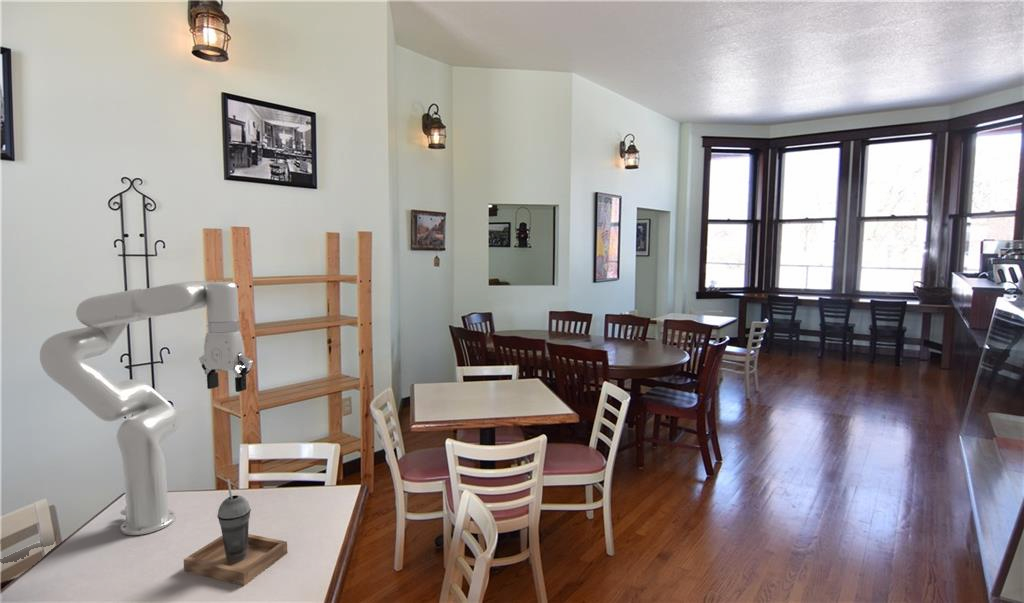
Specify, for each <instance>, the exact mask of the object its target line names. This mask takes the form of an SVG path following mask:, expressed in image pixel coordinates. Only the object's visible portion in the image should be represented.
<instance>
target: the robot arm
mask: <svg viewBox="0 0 1024 603" xmlns="http://www.w3.org/2000/svg"><path fill="white" fill-rule="evenodd" d="M238 292H239V291H238V286H237V284H236V283H234V282H232V281H214V282H212V281H211V282H210V281H203V280H194V281H193V280H192V281H183V282H175V283H170V284H165V285H159V286H152V287H149V288H143V289H142V288H136V289H130V290H124V291H119V292H112V293H108V294H102V295H95V296H91V297H89V298H86V299H84V300H82V301H81V302H80V303H79V304H78V306H77V307H76V310H75V316H76V318H77V320H78V321H79V323H81V324H82V325H84V326H85V327H82V328H75V329H70V330H66V331H61V332H58V333H56V334H53V335H51V336H50V337H48V338H47V339H46V340H45V341H44V342H43V343H42V344H41V346H40V350H39V361H40V365H41V367H42V369H43V371H44V372H45V373H46V375H47V376H48V377H49V378H50V379H51V380H52V381H54V382H55V383H57V385H60V386H61V387H62V388H63V389H65V390H67V392H69V393H70V394H71V395H73V397H74V398H75V399H76V400H77V401H79V402H80V403H81V404H83V406H84V407H86V408H87V409H88V410H89V411H90V412H91V413H92V414H94V415H95V416H96V417H97V418H99V419H100V420H102V421H104V422H108V423H110V422H115V421H118V420H121V419H124V418H125V417H128V416H130V415H131V416H130V417H128V418H127V419H125V420H124V421H123V422H122V423H121V424H120V426H119V427H118V429H117V433H116V441H117V444H118V447H119V451H120V454H121V458H122V468H123V477H124V492H125V503H126V504H125V506H124V507H125V508H124V509H121V510H120V513H119V514H120V515H122V516H125V521H123V523H121V525H120V530H121V531H120V532H121V533H122V534H124V535H127V536H140V535H146V534H150V533H153V532H157V531H159V530H162V529H165V528H166V527H169V525H171V524H172V523H173V522H174V521H175V519H176V513H175V512H174V511H173V510H171V509H169V500H168V499H169V498H168V486H167V485H168V484H167V483H168V482H167V470H166V469H167V468H166V459H165V458H166V457H165V454H164V452H163V450H162V448H161V446H160V442H161V441H162V440H163V439H165V438H167V437H168V436H170V435H172V434H174V433H175V432H176V431H177V429H178V428H179V426H180V425H181V424H180V423H181V416H180V414H179V412H178V410H177V409H176V408H175V406H173V405H172V404H171V403H170V402H169V401H168V400H167V399H166V398H164V397H163V396H162V395H161V394H160V393H159V392H157V390H155V389H154V388H153V387H152V386H151V385H149V384H148V383H147V382H144V381H142V380H139V379H133V378H132V379H125V380H122V381H120V382H117V381H116V382H115V381H114V380H113V379H111V378H110V377H109V376H108V375H106V374H105V373H104V372H103V371H102V370H100V369H99V368H97V367H95V366H93V365H91V364H89V363H86V362H84V361H83V360H86V359H90V358H94V357H97V356H101V355H103V354H104V353H106V352H108V351H109V350H110V349H112V347H113V346H114V345H115V343H116V342H117V341H118V339H119V338H120V336H121V335H122V333H123V332H124V330H126V328H127V326H128V325H129V324H130V323H134V322H140V321H146V320H149V318H155V317H160V316H165V315H172V314H178V313H183V312H188V311H193V310H197V309H203V308H206V315H207V316H206V319H207V323H206V327H207V332H206V333H205V337H204V344H203V345H204V346H203V355H202V356H200V357H199V358H198V360H199V363H200V365H201V368H202V369H203V371H204V374H205V375H206V384H207V385H206V388H207V390H211V389H215V388H218V387H219V384H220V383H219V372H217V371H226V372H227V371H228V372H229V371H233V373H234V374H235V376H236V377H235V378H234V385H235V392H237V393H238V392H242V391H247V376H248V375H249V373H250V371H251V368H252V365H253V360H251V358H249V357H247V356H246V355H245V347H244V346H245V345H244V341H243V336H242V332H241V331H240V317H239V316H240V314H239V312H240V311H239V295H238Z"/></svg>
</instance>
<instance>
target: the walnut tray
mask: <svg viewBox="0 0 1024 603" xmlns="http://www.w3.org/2000/svg"><path fill="white" fill-rule="evenodd" d="M287 554H288V541H284V540H281V539H275V538H270V537H266V536H265V537H264V536H262V535H261V536H260V535H255V534H251V533H248V550H247V557H246V558H245V559H244V560H242V561H240V562H236V563H229V562H227V558H226V555H225V549H224V543H223V536H222V535H221V536H219V537H217V538H216V539H214V540H212V541H211V542H209V543H208V544H206V545H204V546H203V547H201V548H199V549H198V550H197V551H194V552H193V553H191V554H189V555H188V556H186V557H185V558H183V571H184V572H186V573H190V574H195V575H199V576H202V577H207V578H211V579H214V580H215V579H216V580H220V581H223V580H225V581H224V582H227V581H229V582H228V583H231V582H235V583H234V584H236V583H238V584H237V585H240V584H241V585H240V586H244V585H245V586H246V585H247V584H249V583H250V582H252V581H253V580H254V579H255V578H257V577H258V576H259V575H261V574H262V573H263V572H265V571H266V570H267V569H269V568H270V567H271V566H272V565H274V564H275V563H276V562H278V561H279V560H280V559H281V558H283V557H284V556H285V555H287ZM265 569H266V570H265ZM262 571H263V572H262ZM261 572H262V573H261ZM260 573H261V574H260ZM258 574H259V575H258ZM257 575H258V576H257ZM256 576H257V577H256ZM254 577H255V578H254ZM253 578H254V579H253ZM252 579H253V580H252ZM248 582H249V583H248Z"/></svg>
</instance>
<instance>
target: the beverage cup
mask: <svg viewBox="0 0 1024 603" xmlns="http://www.w3.org/2000/svg"><path fill="white" fill-rule="evenodd" d="M226 482H227V488H228V494H229V496H227V498H226V499H224V500H222V502H221V504H220V505H219V506H218V510H217V511H218V512H217V516H216V517H217V519H218V522H219V525H220V530H221V536H223V543H224V549H225V555H226V558H227V562H229V563H236V562H240V561H242V560H244V559H245V558H246V557H247V550H248V534H249V528H250V527H249V524H250V517H251V516H250V515H251V511H252V509H251V506H250V503H249V500H247V498H245V497H244V496H242V495H237V494H236V495H233V494H232V492H233V491H232V488H231V481H230V478H227V479H226Z"/></svg>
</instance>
